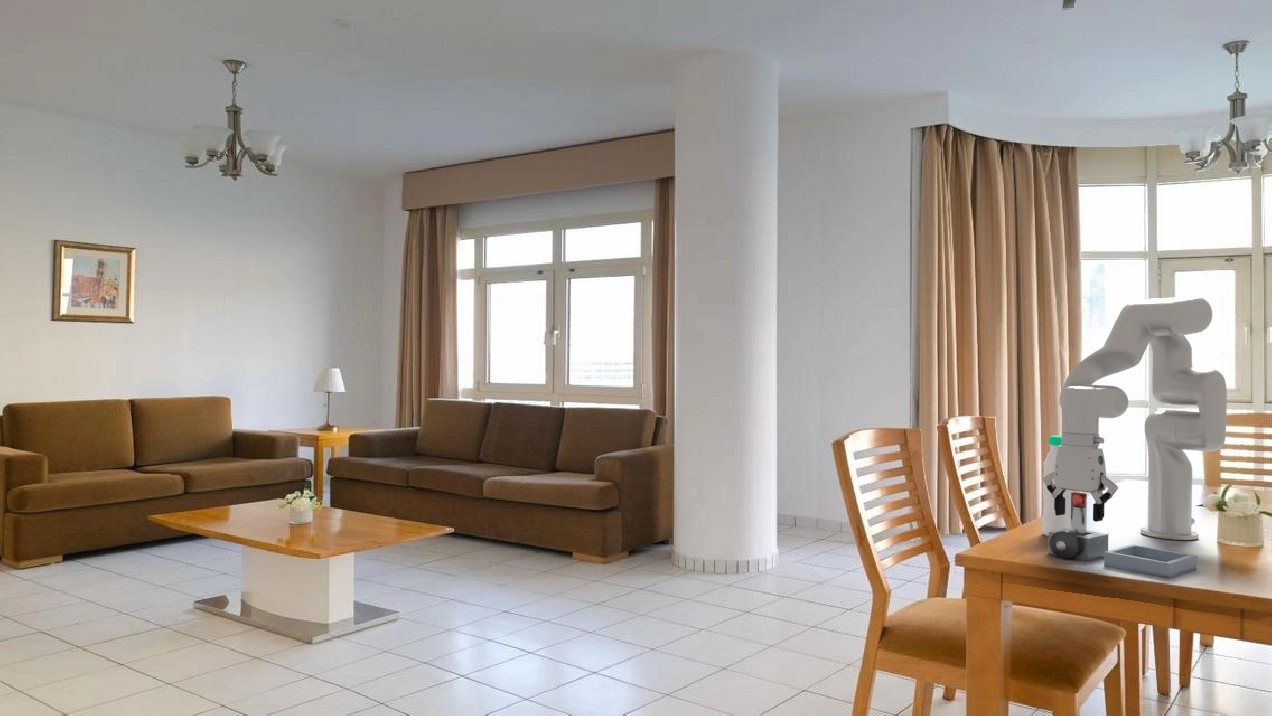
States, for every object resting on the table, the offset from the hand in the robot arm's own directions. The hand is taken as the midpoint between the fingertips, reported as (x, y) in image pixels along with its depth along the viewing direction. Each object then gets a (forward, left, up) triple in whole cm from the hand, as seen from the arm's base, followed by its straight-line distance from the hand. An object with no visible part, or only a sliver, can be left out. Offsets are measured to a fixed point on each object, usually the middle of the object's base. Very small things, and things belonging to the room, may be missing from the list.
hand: (1078, 517), depth 203 cm
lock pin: (0, 0, -8) cm, 8 cm away
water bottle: (-17, -14, -9) cm, 24 cm away
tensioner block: (+2, 0, -8) cm, 9 cm away
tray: (-1, +15, -8) cm, 17 cm away
